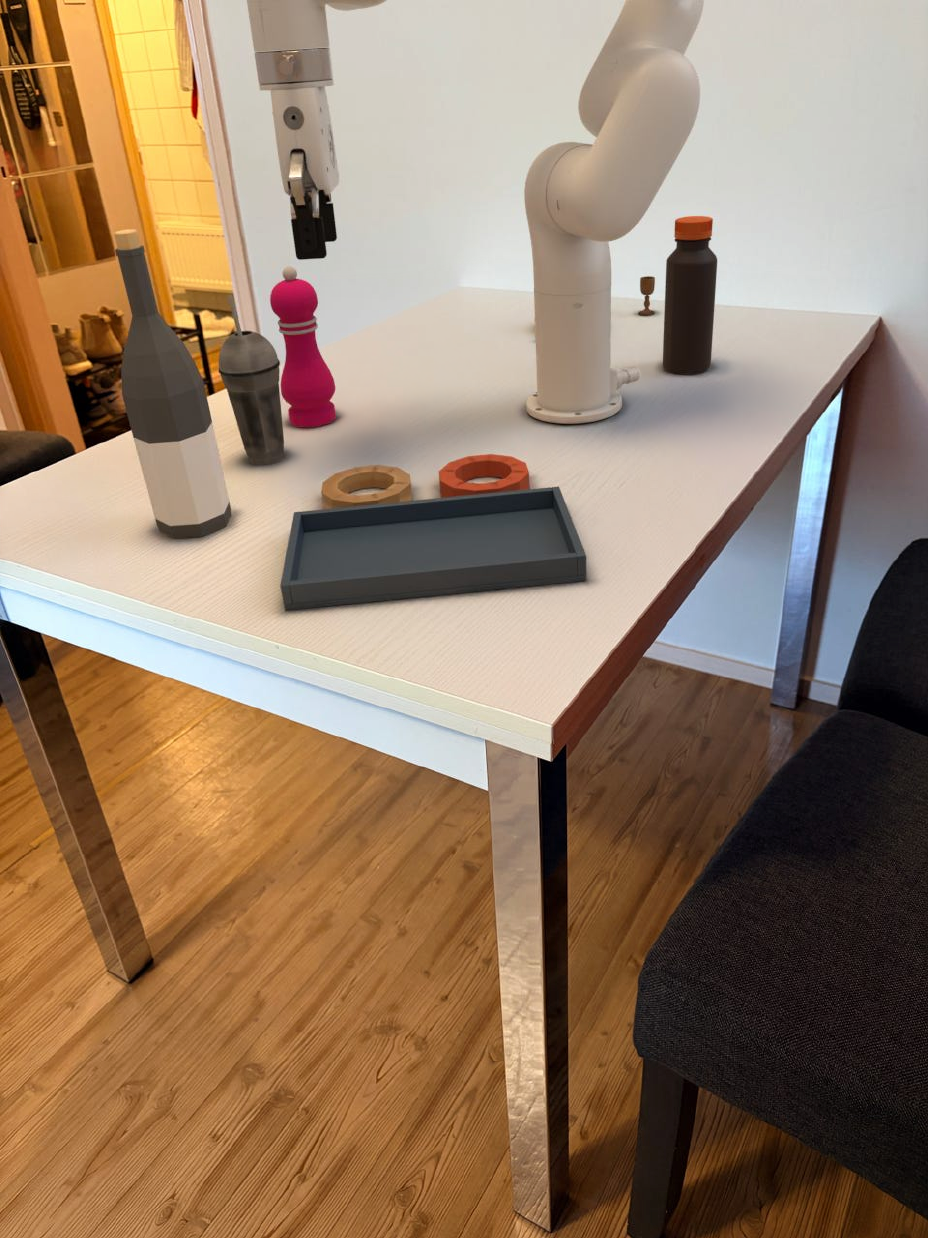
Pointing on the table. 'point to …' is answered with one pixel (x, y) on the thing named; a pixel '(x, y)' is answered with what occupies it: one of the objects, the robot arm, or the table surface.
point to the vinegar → (690, 298)
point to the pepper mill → (302, 353)
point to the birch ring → (366, 486)
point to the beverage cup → (253, 392)
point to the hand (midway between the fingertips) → (317, 249)
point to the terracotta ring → (483, 475)
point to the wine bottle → (168, 411)
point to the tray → (430, 548)
